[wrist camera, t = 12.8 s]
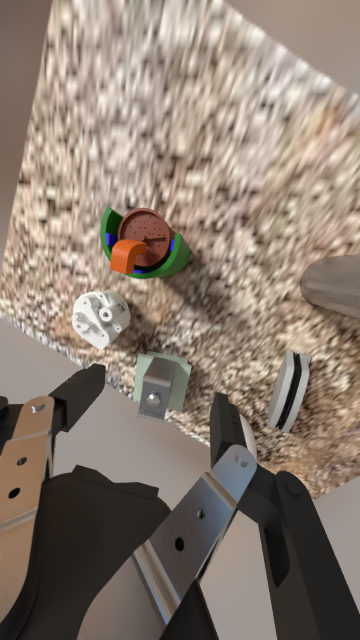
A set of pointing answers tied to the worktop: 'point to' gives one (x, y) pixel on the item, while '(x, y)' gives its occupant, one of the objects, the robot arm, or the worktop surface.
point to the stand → (178, 382)
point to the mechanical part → (100, 317)
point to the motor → (142, 244)
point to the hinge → (289, 391)
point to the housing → (156, 389)
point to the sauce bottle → (249, 437)
